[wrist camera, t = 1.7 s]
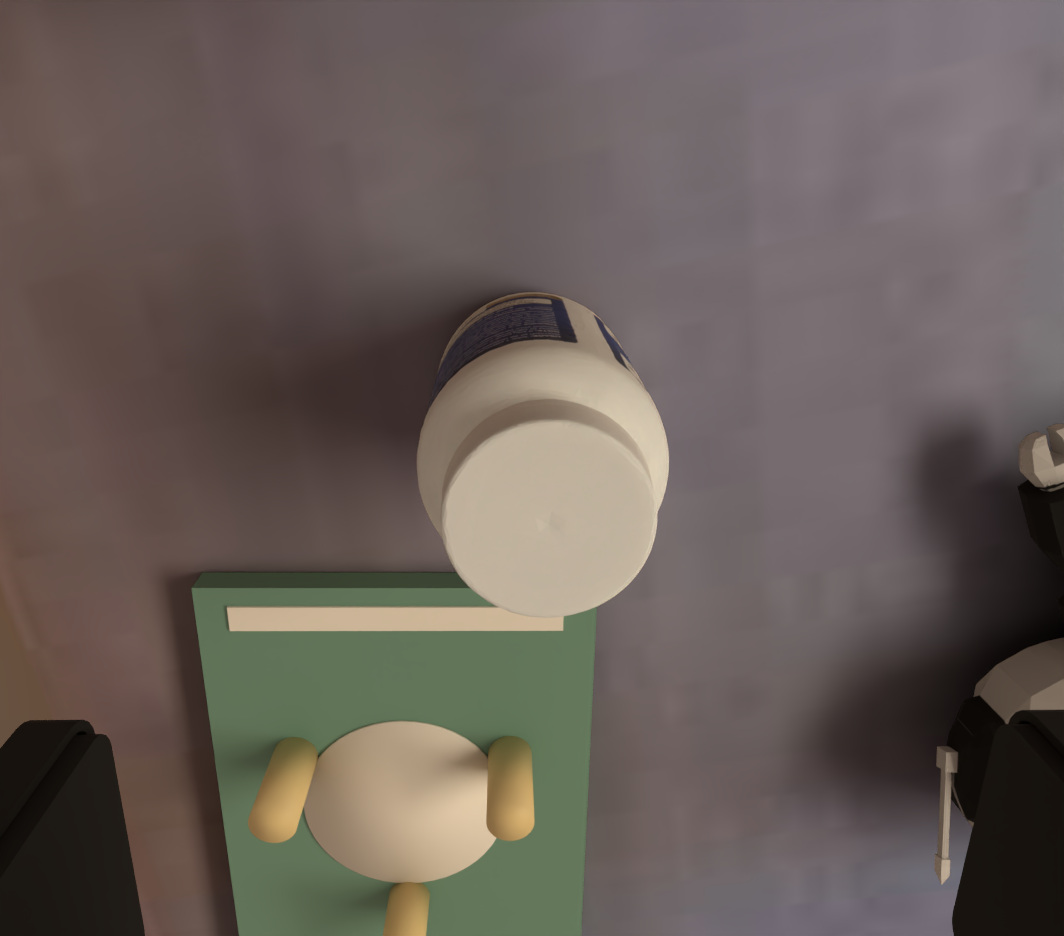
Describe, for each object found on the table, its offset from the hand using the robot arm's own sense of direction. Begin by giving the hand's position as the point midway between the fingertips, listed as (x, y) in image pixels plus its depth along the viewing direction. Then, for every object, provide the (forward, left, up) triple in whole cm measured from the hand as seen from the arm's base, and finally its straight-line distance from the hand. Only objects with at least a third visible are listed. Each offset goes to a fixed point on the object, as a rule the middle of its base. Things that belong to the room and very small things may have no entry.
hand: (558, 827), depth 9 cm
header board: (+14, -4, -17) cm, 22 cm away
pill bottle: (0, 0, -17) cm, 17 cm away
